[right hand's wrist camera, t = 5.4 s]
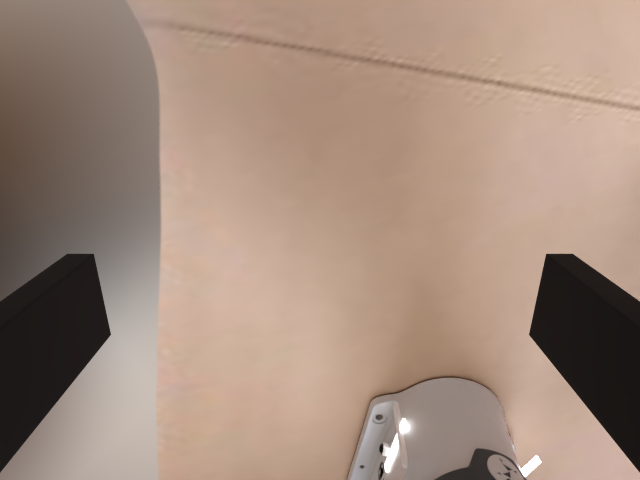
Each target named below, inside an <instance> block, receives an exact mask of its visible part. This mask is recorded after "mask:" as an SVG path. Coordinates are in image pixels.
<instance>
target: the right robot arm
mask: <svg viewBox="0 0 640 480" xmlns="http://www.w3.org/2000/svg"><path fill="white" fill-rule="evenodd" d="M110 335H111V333H110V328H109V324H108V319H107V314H106V310H105V305H104V300H103V295H102V291H101V286H100V281H99V277H98V272H97V267H96V263H95V258H94V254H67V255H65V256H64V257H62V258H61V259H60V260H58V261H57V262H55V263H54V264H52V265H51V266H50V267H48V268H47V269H45V270H44V271H43V272H41V273H40V274H38V275H37V276H36V277H34V278H33V279H31V280H30V281H29V282H27V283H26V284H24V285H23V286H22V287H20V288H19V289H17V290H16V291H14V292H13V293H12V294H10V295H9V296H7V297H6V298H5V299H3V300H2V301H0V472H1V471H2V470H3V468H4V467H5V466H6V465H7V463H8V462H9V461H10V460H11V458H12V457H13V456H14V455H15V453H16V452H17V451H18V450H19V448H20V447H21V446H22V445H23V443H24V442H25V441H26V440H27V438H28V437H29V436H30V435H31V433H32V432H33V431H34V430H35V428H36V427H37V426H38V425H39V423H40V422H41V421H42V420H43V419H44V417H45V416H46V415H47V414H48V412H49V411H50V410H51V408H52V407H53V406H54V405H55V404H56V402H57V401H58V400H59V399H60V397H61V396H62V395H63V394H64V392H65V391H66V390H67V389H68V387H69V386H70V385H71V384H72V382H73V381H74V380H75V379H76V377H77V376H78V375H79V374H80V372H81V371H82V370H83V369H84V367H85V366H86V365H87V364H88V362H89V361H90V360H91V359H92V357H93V356H94V355H95V354H96V353H97V351H98V350H99V349H100V347H101V346H102V345H103V344H104V343H105V341H106V340H107V339H108V338H109V336H110ZM529 335H530V336H531V338H532V339H533V340H534V341H535V343H536V344H537V345H538V346H539V348H540V349H541V350H542V351H543V353H544V354H545V355H546V356H547V358H548V359H549V360H550V361H551V363H552V364H553V365H554V366H555V367H556V369H557V370H558V371H559V372H560V374H561V375H562V376H563V377H564V379H565V380H566V381H567V382H568V384H569V385H570V386H571V387H572V389H573V390H574V391H575V392H576V394H577V395H578V396H579V397H580V399H581V400H582V401H583V402H584V404H585V405H586V406H587V407H588V409H589V410H590V411H591V412H592V414H593V415H594V416H595V417H596V419H597V420H598V421H599V422H600V424H601V425H602V426H603V427H604V428H605V430H606V431H607V432H608V433H609V435H610V436H611V437H612V438H613V440H614V441H615V442H616V443H617V445H618V446H619V447H620V448H621V450H622V451H623V452H624V453H625V455H626V456H627V457H628V458H629V460H630V461H631V462H632V463H633V465H634V466H635V467H636V468H637V470H638V471H639V472H640V301H638V300H637V299H635V298H634V297H633V296H631V295H630V294H628V293H627V292H626V291H624V290H623V289H621V288H620V287H619V286H617V285H616V284H614V283H613V282H611V281H610V280H609V279H607V278H606V277H604V276H603V275H602V274H600V273H599V272H597V271H596V270H595V269H593V268H592V267H590V266H589V265H588V264H586V263H585V262H583V261H582V260H581V259H579V258H578V257H576V256H575V255H574V254H546V258H545V262H544V267H543V272H542V277H541V281H540V286H539V291H538V295H537V300H536V305H535V310H534V314H533V319H532V324H531V328H530V333H529Z"/></svg>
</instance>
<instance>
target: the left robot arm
mask: <svg viewBox="0 0 640 480" xmlns="http://www.w3.org/2000/svg"><path fill="white" fill-rule="evenodd" d="M379 414H380V415H379ZM377 415H379V416H377ZM540 463H541V461H540V459H539V457H538V456H535V457H534V458H533V459H532V460H531V461H530V462H529V463H528V464H526V465H525V466H524V467H523V468H522V469H521V468H520V465H519V462H518V460H517V457H516V454H515V446H514V443H513V441H512V439H511V437H510V435H509V433H508V430H507V426H506V422H505V417H504V412H503V408H502V406H501V403H500V402H499V400H498V399H497V397H496V396H495V395H494V394H493V393H492V392H491V391H490V390H489V389H487V388H486V387H484V386H482V385H480V384H478V383H476V382H473V381H470V380H466V379H461V378H438V379H432V380H428V381H425V382H422V383H419V384H417V385H415V386H413V387H411V388H409V389H407V390H405V391H402V392H400V393H397V394H389V395H383V396H379V397H376V398H374V399H373V400H372V401H371V403H370V406H369V409H368V412H367V416H366V419H365V422H364V425H363V429H362V432H361V435H360V439H359V442H358V445H357V448H356V452H355V455H354V458H353V462H352V465H351V468H350V471H349V475H348V478H347V480H526V478H525V477H526V476H527V475H528V474H529V473H530V472H531V471H532V470H533V469H534V468H535V467H537V466H538V465H539V464H540Z"/></svg>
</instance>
